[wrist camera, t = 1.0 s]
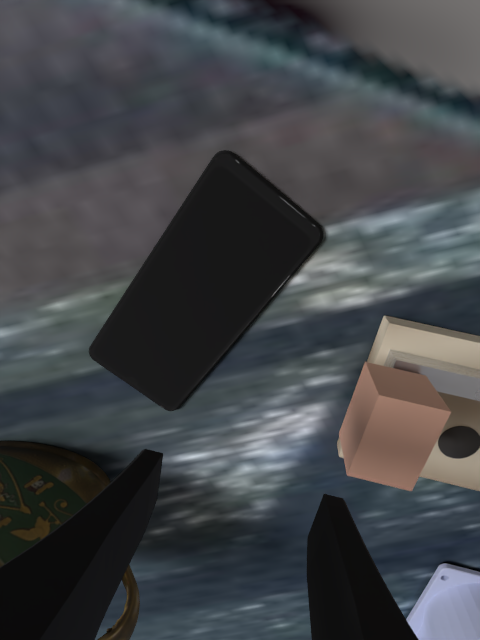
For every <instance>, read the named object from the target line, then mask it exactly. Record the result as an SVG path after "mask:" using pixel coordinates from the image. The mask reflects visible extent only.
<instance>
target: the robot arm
mask: <svg viewBox="0 0 480 640" xmlns="http://www.w3.org/2000/svg"><path fill="white" fill-rule="evenodd" d="M162 458H163V453H159V452H155V451H151V450H147V449H145V450H143V451H141V452H140V454H139V455H138V456H137V457H136V458H135V459H134V460H133V461H132V462H131V463H130V464H129V465H128V466H127V467H126V468H125V469H124V470H123V471H122V472H121V473H120V474H119V475H118V476H117V477H116V478H115V479H114V480H113V481H112V482H111V483H110V484H109V485H107V486H106V487H105V488H104V489H103V490H102V491H101V492H100V493H99V494H98V495H96V496H95V497H94V498H93V499H92V500H91V501H90V502H88V503H87V504H86V505H85V506H84V507H82V508H81V509H80V510H79V511H77V512H76V513H75V514H74V515H73V516H71V517H70V518H69V519H68V520H66V521H65V522H64V523H63V524H61V525H60V526H59V527H57V528H56V529H55V530H53V531H52V532H51V533H49V534H48V535H47V536H45V537H44V538H42V539H41V540H40V541H38V542H37V543H35V544H34V545H33V546H31V547H30V548H28V549H27V550H25V551H24V552H22V553H21V554H19V555H18V556H16V557H15V558H13V559H12V560H10V561H9V562H7V563H6V564H4V565H2V566H1V567H0V640H95V637H96V635H97V632H98V630H99V627H100V625H101V622H102V620H103V618H104V616H105V613H106V611H107V609H108V607H109V604H110V602H111V600H112V598H113V596H114V594H115V592H116V590H117V588H118V586H119V584H120V582H121V580H122V578H123V576H124V574H125V572H126V570H127V568H128V565H129V563H130V561H131V559H132V557H133V555H134V553H135V551H136V549H137V547H138V545H139V543H140V541H141V539H142V537H143V534H144V532H145V530H146V527H147V525H148V522H149V519H150V517H151V514H152V511H153V509H154V506H155V503H156V500H157V496H158V489H159V481H160V473H161V466H162ZM307 583H308V597H309V609H310V622H311V634H312V640H480V572H478V571H475V570H471V569H467V568H463V567H459V566H455V565H451V564H447V563H444V564H441V565H439V566H438V568H437V570H436V571H435V573H434V575H433V576H432V578H431V580H430V581H429V583H428V585H427V586H426V588H425V589H424V591H423V593H422V594H421V596H420V598H419V599H418V601H417V603H416V604H415V606H414V608H413V609H412V611H411V613H410V614H409V616H408V617H407V619H405V617H404V615H403V614H402V612H401V610H400V609H399V607H398V605H397V603H396V602H395V600H394V598H393V597H392V595H391V593H390V591H389V590H388V588H387V586H386V584H385V582H384V580H383V579H382V577H381V575H380V573H379V571H378V569H377V567H376V565H375V563H374V561H373V560H372V558H371V556H370V554H369V552H368V550H367V548H366V546H365V544H364V542H363V540H362V537H361V535H360V533H359V531H358V529H357V527H356V525H355V523H354V521H353V518H352V516H351V514H350V512H349V510H348V507H347V505H346V503H345V501H344V500H343V498H339V497H335V496H331V495H327V494H324V495H323V498H322V501H321V503H320V506H319V509H318V511H317V514H316V517H315V519H314V522H313V525H312V527H311V530H310V532H309V535H308V542H307Z"/></svg>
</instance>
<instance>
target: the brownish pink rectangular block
mask: <svg viewBox="0 0 480 640" xmlns="http://www.w3.org/2000/svg"><path fill="white" fill-rule="evenodd" d="M450 414H451V411H450V409H449V408H448V406H447V405H446V403H445V402H444V401H443V399H442V398H441V396H440V395H439V394H438V392H437V391H436V389H435V388H434V386H433V385H432V384H431V382H430V381H429V379H428V378H427V376H426V375H421V374H417V373H412V372H408V371H404V370H399V369H395V368H390V367H386V366H382V365H377V364H373V363H369V362H365V364H364V366H363V369H362V372H361V375H360V377H359V380H358V383H357V386H356V388H355V391H354V394H353V396H352V399H351V402H350V405H349V407H348V410H347V413H346V416H345V418H344V421H343V424H342V427H341V429H340V432H339V436H340V441H341V446H342V452H343V457H344V462H345V467H346V473H347V475H348V476H352V477H356V478H360V479H364V480H368V481H372V482H376V483H380V484H384V485H388V486H392V487H396V488H400V489H404V490H409V491H412V490H413V488H414V486H415V484H416V482H417V480H418V478H419V476H420V474H421V472H422V470H423V468H424V466H425V464H426V462H427V460H428V458H429V456H430V454H431V452H432V450H433V448H434V446H435V444H436V442H437V440H438V438H439V436H440V434H441V432H442V430H443V428H444V426H445V424H446V422H447V420H448V418H449V416H450Z"/></svg>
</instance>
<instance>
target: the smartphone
mask: <svg viewBox="0 0 480 640" xmlns="http://www.w3.org/2000/svg"><path fill="white" fill-rule="evenodd" d="M322 238H323V230H322V228H321V226H320V225H319V224H318V223H317V222H316V221H314V220H313V219H312V218H311V217H310V216H308V215H307V214H306V213H305V212H304V211H303V210H301V209H300V208H299V207H298V206H297V205H295V204H294V203H293V202H292V201H291V200H289V199H288V198H287V197H286V196H285V195H283V194H282V193H281V192H280V191H278V190H277V189H276V188H275V187H274V186H272V185H271V184H270V183H269V182H268V181H266V180H265V179H264V178H263V177H262V176H260V175H259V174H258V173H257V172H256V171H254V170H253V169H252V168H251V167H250V166H248V165H247V164H246V163H245V162H244V161H242V160H241V159H240V158H239V157H237V156H236V155H235V154H234V153H232V152H230V151H226V150H224V151H220V152H218V153H216V154H215V156H214V157H213V158H212V160H211V161H210V163H209V164H208V166H207V167H206V169H205V170H204V172H203V173H202V175H201V177H200V178H199V180H198V181H197V183H196V184H195V186H194V187H193V189H192V190H191V192H190V193H189V195H188V196H187V198H186V200H185V201H184V203H183V204H182V206H181V207H180V209H179V210H178V212H177V213H176V215H175V216H174V218H173V219H172V221H171V223H170V224H169V226H168V227H167V229H166V230H165V232H164V233H163V235H162V236H161V238H160V239H159V241H158V243H157V244H156V246H155V247H154V249H153V250H152V252H151V253H150V255H149V256H148V258H147V259H146V261H145V262H144V264H143V266H142V267H141V269H140V270H139V272H138V273H137V275H136V276H135V278H134V279H133V281H132V282H131V284H130V286H129V287H128V289H127V290H126V292H125V293H124V295H123V296H122V298H121V299H120V301H119V302H118V304H117V306H116V307H115V309H114V310H113V312H112V313H111V315H110V316H109V318H108V319H107V321H106V322H105V324H104V326H103V327H102V329H101V330H100V332H99V333H98V335H97V336H96V338H95V340H94V341H93V343H92V344H91V346H90V348H89V354H90V356H91V358H92V359H93V360H94V361H96V362H97V363H99V364H100V365H101V366H103V367H104V368H106V369H107V370H109V371H110V372H112V373H113V374H114V375H116V376H117V377H119V378H120V379H122V380H123V381H125V382H126V383H128V384H129V385H130V386H132V387H133V388H135V389H136V390H138V391H139V392H141V393H142V394H143V395H145V396H146V397H148V398H149V399H151V400H152V401H154V402H155V403H157V404H158V405H159V406H161V407H162V408H164V409H166V410H168V411H174V410H176V409H178V408H179V407H180V406H181V405H182V403H183V402H184V401H185V400H186V399H187V398H188V396H189V395H190V394H191V393H192V392H193V391H194V390H195V388H196V387H197V386H198V385H199V384H200V383H201V381H202V380H203V379H204V378H205V377H206V376H207V374H208V373H209V372H210V371H211V370H212V369H213V367H214V366H215V365H216V364H217V363H218V362H219V361H220V359H221V358H222V357H223V356H224V355H225V354H226V352H227V351H228V350H229V349H230V348H231V347H232V345H233V344H234V343H235V342H236V341H237V340H238V338H239V337H240V336H241V335H242V334H243V333H244V331H245V330H246V329H247V328H248V327H249V326H250V324H251V323H252V322H253V321H254V320H255V319H256V317H257V316H258V315H259V314H260V313H261V312H262V310H263V309H264V308H265V307H266V306H267V305H268V303H269V302H270V301H271V300H272V299H273V298H274V297H275V295H276V294H277V293H278V292H279V291H280V290H281V288H282V287H283V286H284V285H285V284H286V283H287V281H288V280H289V279H290V278H291V277H292V276H293V274H294V273H295V272H296V271H297V270H298V269H299V267H300V266H301V265H302V264H303V263H304V262H305V260H306V259H307V258H308V257H309V256H310V255H311V253H312V252H313V251H314V250H315V249H316V247H317V246H318V245H319V244H320V243H321V241H322Z"/></svg>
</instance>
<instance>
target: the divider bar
mask: <svg viewBox="0 0 480 640" xmlns="http://www.w3.org/2000/svg"><path fill="white" fill-rule="evenodd" d="M384 366H386V367H390V368H395V369H399V370H404V371H408V372H412V373H417V374H421V375H426V376H427V378H428V379H429V381H430V382H431V384H432V385H433V386H434V388H435V389H436V391H438V392H442V393H446V394H451V395H455V396H459V397H464V398H468V399H472V400H477V401H480V369H475V368H471V367H467V366H462V365H458V364H453V363H449V362H444V361H440V360H435V359H431V358H427V357H422V356H418V355H413V354H409V353H404V352H400V351H395V350H391V349H390V351H389V353H388V356H387V358H386V361H385V363H384Z"/></svg>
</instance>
